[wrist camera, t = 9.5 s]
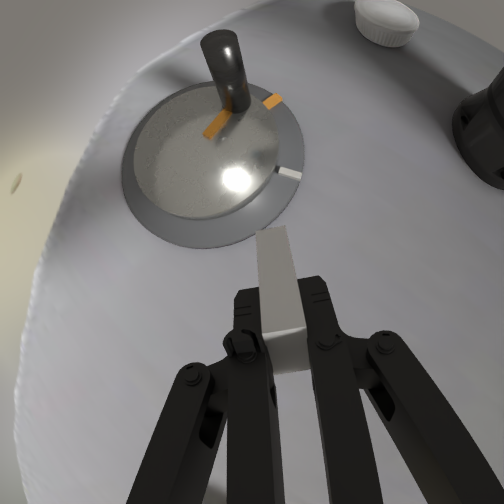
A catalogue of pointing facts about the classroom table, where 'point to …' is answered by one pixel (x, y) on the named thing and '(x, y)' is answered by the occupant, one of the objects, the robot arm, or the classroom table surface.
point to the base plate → (240, 221)
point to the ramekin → (385, 21)
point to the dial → (209, 142)
